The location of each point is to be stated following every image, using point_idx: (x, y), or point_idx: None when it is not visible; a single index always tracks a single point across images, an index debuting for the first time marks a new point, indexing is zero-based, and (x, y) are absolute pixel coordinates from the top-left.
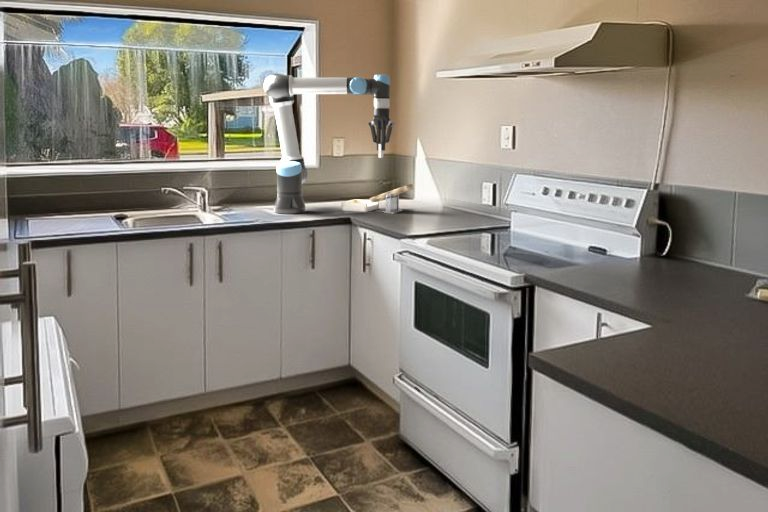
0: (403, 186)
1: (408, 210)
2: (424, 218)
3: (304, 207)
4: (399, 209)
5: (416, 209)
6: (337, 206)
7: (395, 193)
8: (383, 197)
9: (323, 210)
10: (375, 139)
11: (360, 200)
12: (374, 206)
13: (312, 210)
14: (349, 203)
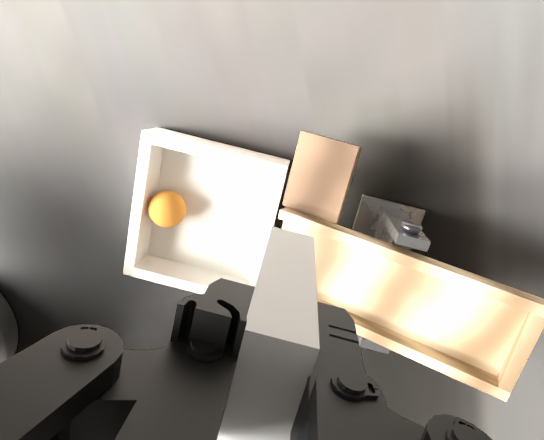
0: (484, 391)
1: (452, 177)
2: (532, 407)
3: (3, 341)
4: (409, 216)
5: (496, 127)
6: (62, 102)
7: (416, 338)
8: (339, 305)
9: (60, 256)
10: (39, 393)
11: (181, 151)
12: (277, 210)
13: (17, 265)
14: (165, 282)
